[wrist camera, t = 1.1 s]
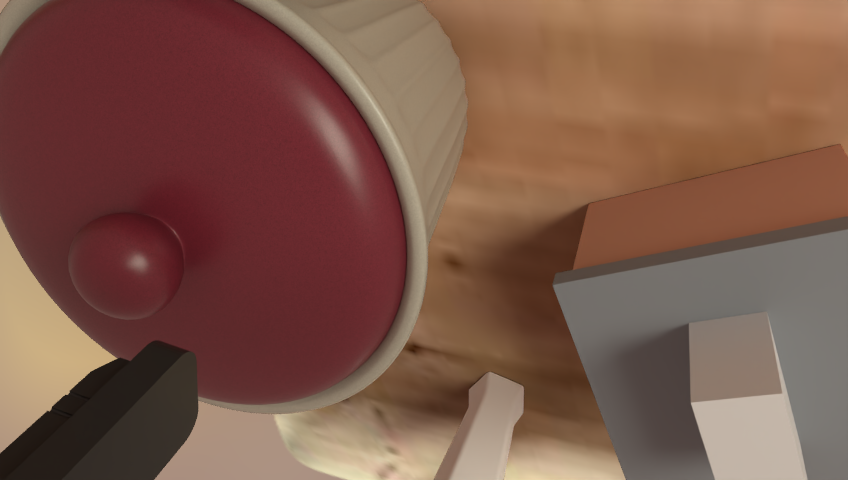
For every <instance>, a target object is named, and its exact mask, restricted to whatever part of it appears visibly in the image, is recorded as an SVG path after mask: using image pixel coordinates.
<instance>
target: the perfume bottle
mask: <svg viewBox="0 0 848 480" xmlns="http://www.w3.org/2000/svg"><path fill="white" fill-rule="evenodd" d="M523 407H524V387H523V386H522V385H520V384H518V383H516V382H513V381H511V380H509V379H506V378H504V377H502V376H499V375H497V374H494V373H492V372H488V373H486V374H485V375H484V376H483V377H482V378H481V379H480V380H479V381H478V382H476V383H475V384H474V385H473V386H472V387H471V388H470V389H469V407H468V409H467V412H466V414H465V416H464V418H463V420H462V422H461V424H460V426H459V428H458V430H457V432H456V434H455V436H454V438H453V441H452V443H451V445H450V447H449V449H448V451H447V453H446V455H445V457H444V459H443V461H442V463H441V465H440V467H439V470H438V472H437V474H436V476H435V478H434V480H504V476H505V470H506V465H507V460H508V454H509V449H510V444H511V438H512V433H513V428H514V425H515V424H516V422H517V421H518V419H519V418H520V417H521V415H522V414H523Z"/></svg>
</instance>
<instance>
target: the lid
mask: <svg viewBox="0 0 848 480" xmlns="http://www.w3.org/2000/svg"><path fill="white" fill-rule="evenodd" d="M553 288H554V290H555V293H556V296H557V298H558V301H559V304H560V306H561V309H562V312H563V314H564V317H565V320H566V322H567V325H568V328H569V330H570V333H571V335H572V338H573V341H574V343H575V346H576V349H577V351H578V354H579V357H580V359H581V362H582V365H583V367H584V370H585V372H586V375H587V378H588V380H589V383H590V386H591V388H592V391H593V394H594V396H595V399H596V402H597V404H598V407H599V410H600V412H601V415H602V417H603V420H604V423H605V425H606V428H607V431H608V433H609V436H610V439H611V441H612V444H613V447H614V449H615V452H616V455H617V457H618V460H619V462H620V465H621V468H622V470H623V473H624V476H625V478H626V480H848V216H846V217H841V218H836V219H830V220H825V221H820V222H815V223H810V224H805V225H800V226H795V227H789V228H784V229H779V230H774V231H769V232H764V233H759V234H754V235H749V236H743V237H738V238H733V239H728V240H723V241H718V242H713V243H708V244H703V245H697V246H692V247H687V248H682V249H677V250H672V251H667V252H662V253H656V254H651V255H646V256H641V257H636V258H631V259H626V260H621V261H616V262H610V263H605V264H600V265H595V266H590V267H585V268H580V269H575V270H569V271H564V272H559V273H556V274H555V278H554V281H553Z"/></svg>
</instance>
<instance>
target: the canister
mask: <svg viewBox="0 0 848 480" xmlns="http://www.w3.org/2000/svg"><path fill="white" fill-rule="evenodd" d="M465 83H466V81H465V78H464V76H463V75H462V72H461V69H460V60H459V58H458V56H457V55H456V54H455V52H454V50H453V48H452V45H451V40H450V38H449V37H448V36H447V35H446V34H445V33H444V31H443V30H442V28H441V26H440V24H439V21H438V20H437V19H435V18H434V17H433V16H432V15H431V14H430V13H429V12H428V10H427V9H426V7H425V5H424V4H423V3H422V2H419V1H418V0H10V1H9V2H8V3H7V5H6V6H5V7H4V9H3V10H2V12H1V13H0V216H1V218H2V220H3V222H4V224H5V227H6V228H7V230H8V232H9V234H10V236H11V238H12V240H13V242H14V243H15V245H16V247H17V249H18V251H19V252H20V254H21V256H22V258H23V259H24V261H25V262H26V264H27V265H28V267H29V269H30V270H31V272H32V273H33V274H34V276H35V277H36V279H37V280H38V282H39V283H40V284H41V286H42V287H43V288H44V290H45V291H46V292H47V293H48V295H49V296H50V297H51V298H52V299H53V301H54V302H55V303H56V304H57V305H58V306H59V308H60V309H61V310H62V311H63V312H64V313H65V314H66V315H67V316H68V317H69V318H70V319H71V320H72V321H73V322H74V323H75V324H76V325H77V326H78V327H79V328H80V329H81V330H82V331H84V332H85V333H86V334H87V335H88V336H89V337H90V338H91V339H93V340H94V341H95V342H96V343H98V344H99V345H100V346H101V347H103V348H104V349H105V350H107V351H108V352H109V353H111V354H112V355H114V356H115V357H116V358H120V357H121V358H123V359H126V360H129V361H131V360H132V359H133V358H134V357H135V356H136V355H137V354H138V353H139V352H140V351H141V350H142V349H143V348H144V347H146V346H147V345H148V344H149V343H151V342H152V341H155V340H159V341H162V342H165V343H168V344H171V345H174V346H177V347H179V348H182V349H185V350H188V351H191V352H193V353H194V354H195V355H196V360H197V385H198V400H199V401H202V402H205V403H208V404H211V405H215V406H219V407H223V408H227V409H232V410H237V411H243V412H250V413H262V414H287V413H297V412H304V411H310V410H315V409H319V408H323V407H326V406H329V405H332V404H335V403H337V402H340V401H342V400H344V399H347V398H349V397H351V396H352V395H354V394H356V393H358V392H359V391H361V390H363V389H364V388H366V387H367V386H368V385H370V384H371V383H372V382H373V381H375V380H376V379H377V378H378V377H379V376H380V375H381V374H383V372H384V371H385V370H386V369H387V368H388V367H389V366H390V365H391V364H392V363H393V361H394V360H395V359H396V357H397V356H398V355H399V353H400V352H401V350H402V349H403V347H404V345H405V344H406V342H407V340H408V338H409V337H410V335H411V333H412V331H413V328H414V326H415V324H416V321H417V319H418V316H419V313H420V310H421V306H422V302H423V298H424V293H425V288H426V281H427V271H428V245H429V242H430V240H431V237H432V235H433V232H434V229H435V227H436V224H437V222H438V219H439V216H440V214H441V211H442V208H443V206H444V203H445V201H446V198H447V195H448V193H449V190H450V187H451V185H452V182H453V179H454V176H455V173H456V170H457V166H458V163H459V160H460V157H461V154H462V150H463V146H464V137H465V134H466V130H467V124H468V122H467V117H466V111H467V108H468V99H467V96H466V94H465Z"/></svg>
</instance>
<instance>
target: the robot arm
mask: <svg viewBox="0 0 848 480" xmlns="http://www.w3.org/2000/svg"><path fill="white" fill-rule="evenodd" d="M197 414H198V385H197V360H196V355H195V354H194V353H193V352H191V351H188V350H185V349H182V348H179V347H177V346H174V345H171V344H168V343H165V342H162V341H159V340H155V341H152V342H151V343H149V344H148V345H147V346H146V347H144V348H143V349H142V350H141V351H140V352H139V353H138V354H137V355H136V356H135V357H134V358H133V359H132V360H131V361H129V360H126V359H123V358H121V357H120V358H118V359H116V360H114V361H112V362H110V363H108V364H105V365H103V366H101V367H99V368H97V369H95V370H93V371H91V372H90V373H89V374H88V375H87V376H86V377H85V378H83V379H82V380H81V381H80V382H79V383H78V384H77V385H76V386H75V387H74V388H72V389H71V390H70V393H69V394H68V395H65V396H63V397H62V398H61V399H60V400H59V401H58V402H57V403H56V404H55V405H54V406H52V409H51V411H50V412H49V411H47V412H46V413H45V414H44V415H43V416H41V417H40V418H39V419H38V420H37V421H36V422H35V423H33V424H32V426H30V427H29V428H28V429H27V430H26V431H25V432H24V433H22V434H21V435H20V436H19V437H18V438H17V439H16V440H15V441H14V442H12V443H11V444H10V445H9V446H8V447H7V448H6V449H5V450H4V451H2V452H1V453H0V480H154V479H155V478H156V477H157V475H158V474H159V473H160V472H161V471H162V469H163V468H164V467H165V466H166V464H167V463H168V462H169V461H170V460H171V458H172V457H173V456H174V455H175V453H176V452H177V451H178V450H179V449H180V447H181V446H182V445H183V444H184V442H185V441H186V440H187V438H188V437H189V435H190V433H191V431H192V429H193V427H194V425H195V422H196V419H197Z"/></svg>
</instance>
